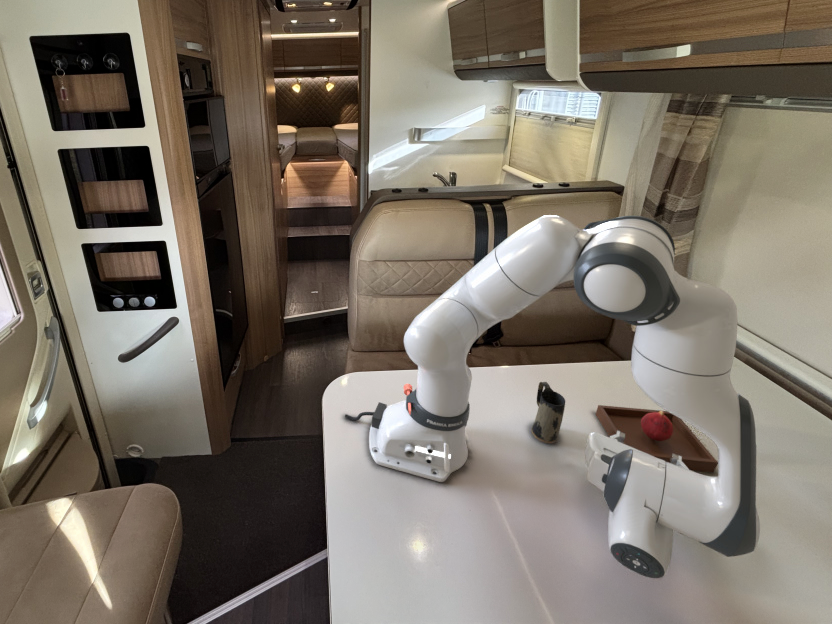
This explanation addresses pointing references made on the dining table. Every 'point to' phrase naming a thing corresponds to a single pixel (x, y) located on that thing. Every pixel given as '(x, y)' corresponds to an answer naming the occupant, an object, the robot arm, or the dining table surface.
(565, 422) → the dining table surface
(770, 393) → the dining table surface
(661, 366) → the robot arm
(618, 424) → the tray
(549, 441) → the mug
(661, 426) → the onion
